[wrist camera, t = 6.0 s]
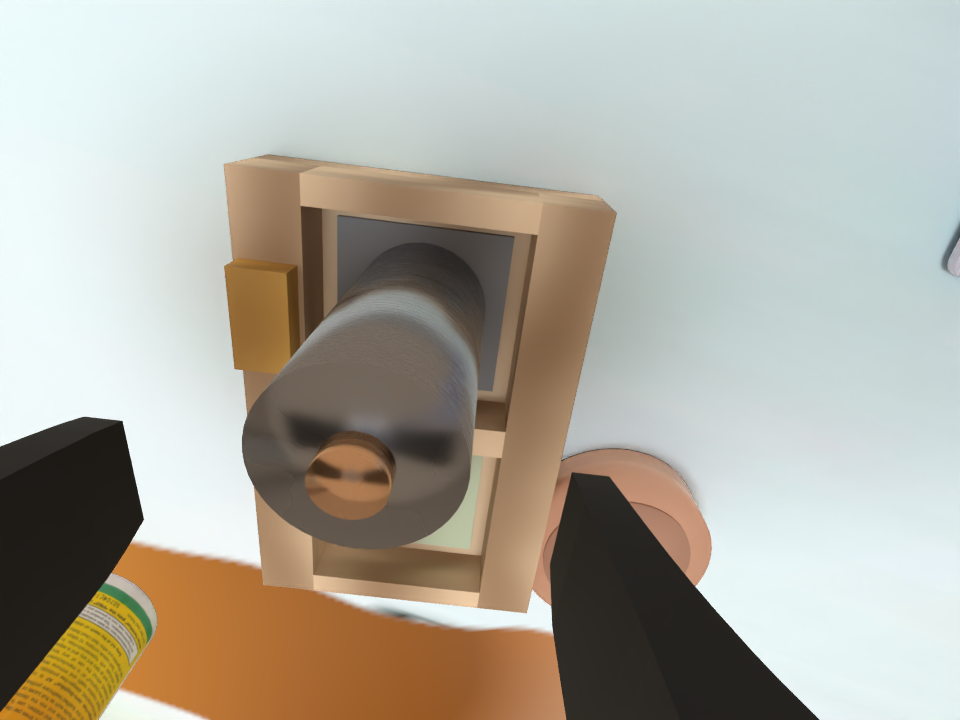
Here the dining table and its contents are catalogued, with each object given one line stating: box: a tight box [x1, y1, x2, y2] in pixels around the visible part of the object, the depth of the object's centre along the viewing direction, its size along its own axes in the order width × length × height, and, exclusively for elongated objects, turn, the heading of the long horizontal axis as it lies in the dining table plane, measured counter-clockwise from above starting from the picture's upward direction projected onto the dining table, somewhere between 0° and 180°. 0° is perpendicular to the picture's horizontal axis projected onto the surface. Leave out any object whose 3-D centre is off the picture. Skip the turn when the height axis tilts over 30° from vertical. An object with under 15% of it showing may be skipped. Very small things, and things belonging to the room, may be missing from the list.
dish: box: [532, 449, 712, 605], centre depth 20 cm, size 7×7×2 cm
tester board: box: [224, 155, 617, 613], centre depth 17 cm, size 10×15×4 cm, turn 174°
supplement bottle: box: [0, 573, 157, 720], centre depth 20 cm, size 5×5×10 cm
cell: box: [242, 243, 485, 549], centre depth 12 cm, size 4×4×9 cm
